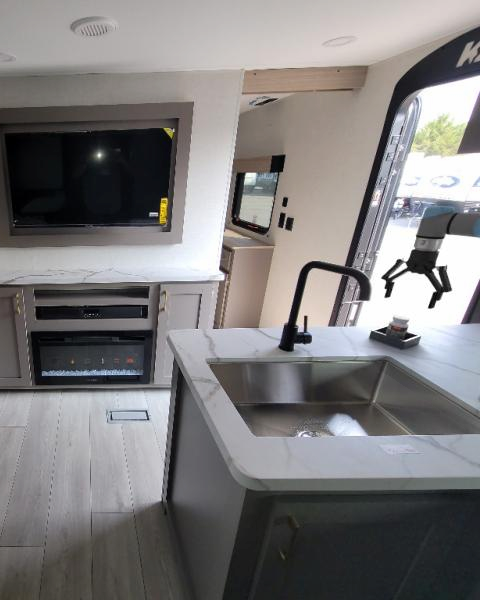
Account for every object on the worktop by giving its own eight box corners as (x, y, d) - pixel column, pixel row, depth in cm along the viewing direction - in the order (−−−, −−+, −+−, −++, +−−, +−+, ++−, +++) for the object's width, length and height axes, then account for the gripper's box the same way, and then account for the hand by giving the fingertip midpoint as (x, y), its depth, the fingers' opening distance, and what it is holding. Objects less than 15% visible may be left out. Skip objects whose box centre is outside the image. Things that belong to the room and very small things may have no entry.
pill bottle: (388, 341, 133) (395, 319, 129) (381, 335, 138) (388, 314, 134) (406, 343, 131) (414, 321, 127) (398, 337, 136) (406, 315, 132)
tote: (418, 343, 131) (421, 335, 130) (402, 349, 127) (405, 341, 126) (384, 332, 141) (387, 325, 140) (368, 337, 137) (371, 330, 136)
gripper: (379, 245, 130) (365, 294, 138) (468, 256, 109) (446, 314, 116) (390, 243, 133) (376, 292, 140) (479, 254, 111) (456, 311, 119)
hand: (407, 302), depth 128 cm, fingers open, 13 cm apart
